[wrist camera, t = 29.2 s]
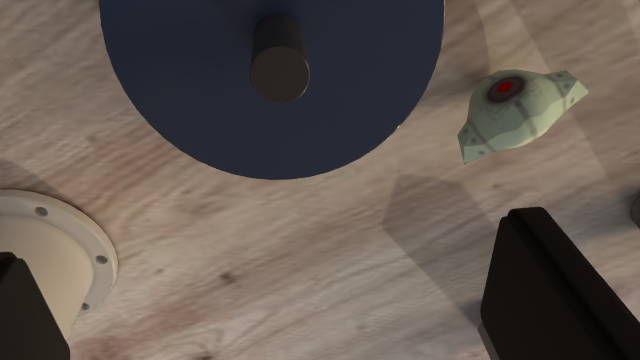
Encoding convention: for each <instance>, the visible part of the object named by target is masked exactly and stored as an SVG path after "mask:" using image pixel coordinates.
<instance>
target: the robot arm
mask: <svg viewBox="0 0 640 360" xmlns="http://www.w3.org/2000/svg"><path fill="white" fill-rule="evenodd" d="M117 273H118V259H117V256H116V252H115V249H114V247H113V245H112V243H111V241H110V240H109V238H108V236H107V235H106V234H105V233H104V231H103V230H102V229H101V228H100V227H99V226H98V224H96V223H95V222H94V221H93V220H92V219H90V218H89V217H88V216H87V215H86V214H84V213H82V212H81V211H79V210H77V209H76V208H74V207H72V206H71V205H69V204H67V203H64V202H62V201H60V200H57V199H55V198H53V197H49V196H46V195H42V194H39V193H35V192H29V191H22V190H15V189H0V360H70V349H69V346H68V344H67V342H66V341H67V339H68V336H69V334H70V332H71V329H72V327H73V325H74V323H75V320H76V318H77V317H78V316H82V315H84V314H86V313H88V312H90V311H92V310H94V309H95V308H96V307H98V306H99V305H100V304H101V303H103V302H104V301H105V299H106V298H107V297H108V295H109V294H110V292H111V290H112V288H113V285H114V283H115V281H116V277H117ZM480 312H481V319H482V323H483V325H484V328H485V330H486V332H487V334H488V336H489V338H490V340H491V342H492V344H493V346H494V348H495V350H496V353H497V355H498V357H499V359H500V360H640V322H639V321H638V320H637V319H636V318H635V316H634V315H633V314H632V313H631V312H630V310H629V309H628V308H627V307H626V306H625V304H624V303H623V302H622V301H621V300H620V298H619V297H618V296H617V295H616V294H615V292H614V291H613V290H612V289H611V288H610V286H609V285H608V284H607V283H606V282H605V280H604V279H603V278H602V277H601V276H600V275H599V274H598V272H597V271H596V270H595V269H594V268H593V266H592V265H591V264H590V263H589V262H588V260H587V259H586V258H585V257H584V256H583V254H582V253H581V252H580V251H579V250H578V248H577V247H576V246H575V245H574V244H573V242H572V241H571V240H570V239H569V237H568V236H567V235H566V234H565V233H564V231H563V230H562V229H561V228H560V227H559V225H558V224H557V223H556V222H555V221H554V219H553V218H552V217H551V216H550V215H549V213H548V212H547V211H546V210H545V209H544V208H542V207H529V208H517V209H512V210H510V211H509V213H508V216H507V217H502V218H501V220H500V223H499V227H498V232H497V236H496V241H495V245H494V250H493V254H492V258H491V263H490V267H489V272H488V276H487V281H486V285H485V290H484V294H483V299H482V303H481V309H480Z"/></svg>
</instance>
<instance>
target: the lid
mask: <svg viewBox="0 0 640 360" xmlns="http://www.w3.org/2000/svg"><path fill="white" fill-rule="evenodd" d="M99 5H100V17H101V27H102V31H103V36H104V41H105V45H106V49H107V52H108V55H109V58H110V60H111V63H112V66H113V69H114V71H115V73H116V75H117V77H118V79H119V81H120V83H121V85H122V87H123V89H124V91H125V92H126V94H127V95H128V97H129V98H130V100H131V101H132V103H133V104H134V106H135V107H136V109H137V110H138V111H139V112H140V114H141V115H142V116H143V117H144V118H145V119H146V121H147V122H148V123H149V124H150V125H151V126H152V127H153V128H154V129H155V130H156V131H157V132H158V133H159V134H160V135H162V136H163V137H164V138H165V139H166V140H167V141H169V142H170V143H171V144H173V145H174V146H175V147H177V148H178V149H179V150H181V151H182V152H184V153H186V154H188V155H189V156H191V157H193V158H194V159H196V160H198V161H200V162H202V163H205V164H207V165H209V166H211V167H214V168H216V169H219V170H222V171H225V172H228V173H231V174H235V175H240V176H245V177H250V178H257V179H268V180H285V179H297V178H305V177H310V176H315V175H319V174H323V173H327V172H329V171H332V170H335V169H338V168H340V167H343V166H345V165H347V164H349V163H351V162H353V161H355V160H357V159H359V158H361V157H362V156H364V155H366V154H367V153H369V152H370V151H372V150H373V149H375V148H376V147H377V146H379V145H380V144H381V143H382V142H384V141H385V140H386V139H387V138H388V137H390V136H391V135H392V134H393V133H394V132H395V131H396V130H397V129H398V127H399V126H400V125H401V124H402V123H403V122H404V121H405V120H406V118H407V117H408V116H409V115H410V113H411V112H412V111H413V109H414V108H415V107H416V105H417V103H418V102H419V100H420V98H421V97H422V95H423V93H424V92H425V90H426V88H427V86H428V83H429V81H430V79H431V76H432V74H433V72H434V69H435V66H436V63H437V59H438V56H439V53H440V49H441V43H442V38H443V32H444V19H445V0H99Z"/></svg>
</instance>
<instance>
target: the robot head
mask: <svg viewBox="0 0 640 360" xmlns="http://www.w3.org/2000/svg"><path fill="white" fill-rule="evenodd" d="M588 93H589V91H588V90H587V89H586V88H585V87H584V86H583V85H582V84H581V83H580V82H579V81H578V80H577V79H576V78H575V77H573V76H572V75H571V74H570V73H568V72H567V71H560V72H555V73H550V74H545V75H544V74H539V73H534V72H529V71H523V70H517V69H515V70H502V71H497V72H496V73H494V74H492V75H490V76H488V77H486V78H485V79H484V80H482V81H481V82H480V83H478V84H477V85H476V86H475V88H474V90H473V93H472V95H471V98H470V103H469V111H468V118H467V122H466V123H465V125H464V126H463V128H462V129H461V131H460V132H459V134H458V135H457V136H458V140H459V144H460V148H461V152H462V156H463V160H464V164H466V163H469V162H471V161H473V160H476V159H478V158H481V157H483V156H485V155H488V154H490V153H493V152H496V151H500V150H503V149H507V148H514V147H520V146H523V145H525V144H527V143H529V142H531V141H534V140H535V139H537V138H538V137H540V136H541V135H543V134H544V133H545V132H546V131H547V130H548V129H549V127H550V126H551V125H552V124H553V123H554V122H555V121H556V120H557V119H558V118H559V117H560V116H561V115H562V114H563V113H564V112H565V111H566V110H567V109H568V108H570V107H571V106H572V105H574V104H575V103H576V102H577V101H579V100H580V99H581V98H582V97H584V96H585V95H586V94H588Z"/></svg>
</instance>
